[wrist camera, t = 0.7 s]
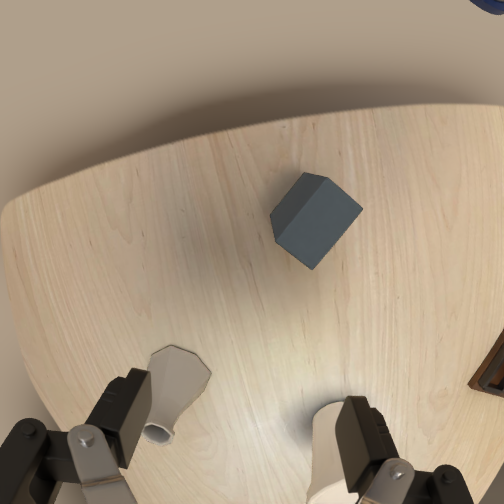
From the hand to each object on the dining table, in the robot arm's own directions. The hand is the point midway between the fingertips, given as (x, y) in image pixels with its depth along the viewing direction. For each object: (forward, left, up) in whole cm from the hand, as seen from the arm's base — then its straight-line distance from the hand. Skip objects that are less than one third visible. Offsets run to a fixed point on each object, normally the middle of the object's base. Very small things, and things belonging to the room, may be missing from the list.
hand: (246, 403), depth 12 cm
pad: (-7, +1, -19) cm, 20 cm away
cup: (+14, +17, -19) cm, 30 cm away
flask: (+15, -3, -19) cm, 25 cm away
